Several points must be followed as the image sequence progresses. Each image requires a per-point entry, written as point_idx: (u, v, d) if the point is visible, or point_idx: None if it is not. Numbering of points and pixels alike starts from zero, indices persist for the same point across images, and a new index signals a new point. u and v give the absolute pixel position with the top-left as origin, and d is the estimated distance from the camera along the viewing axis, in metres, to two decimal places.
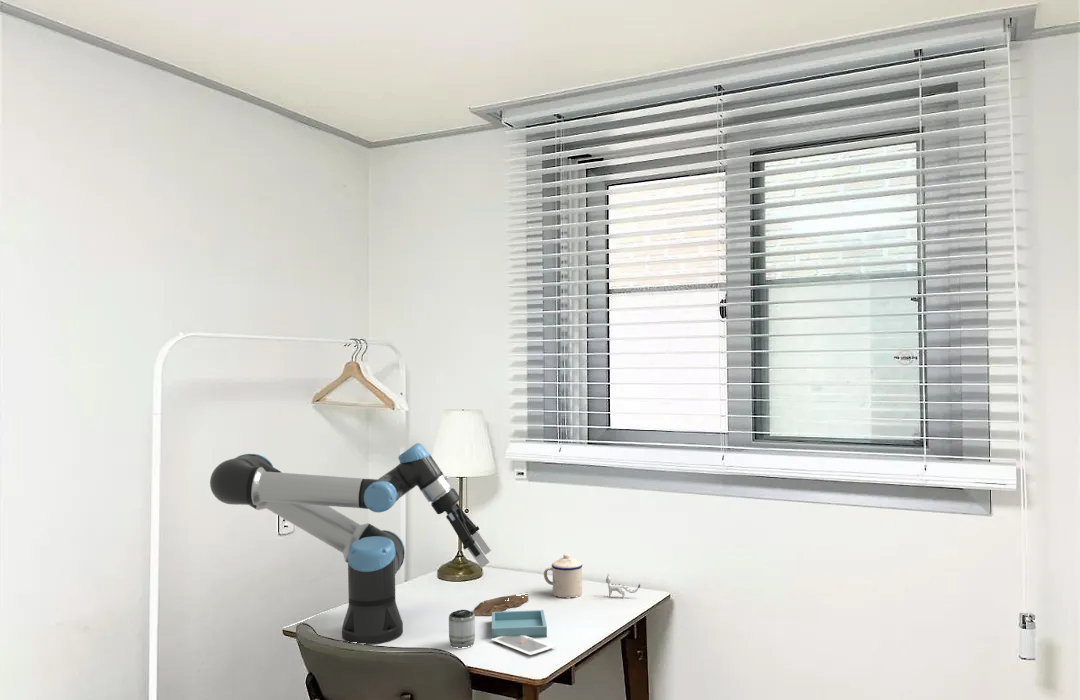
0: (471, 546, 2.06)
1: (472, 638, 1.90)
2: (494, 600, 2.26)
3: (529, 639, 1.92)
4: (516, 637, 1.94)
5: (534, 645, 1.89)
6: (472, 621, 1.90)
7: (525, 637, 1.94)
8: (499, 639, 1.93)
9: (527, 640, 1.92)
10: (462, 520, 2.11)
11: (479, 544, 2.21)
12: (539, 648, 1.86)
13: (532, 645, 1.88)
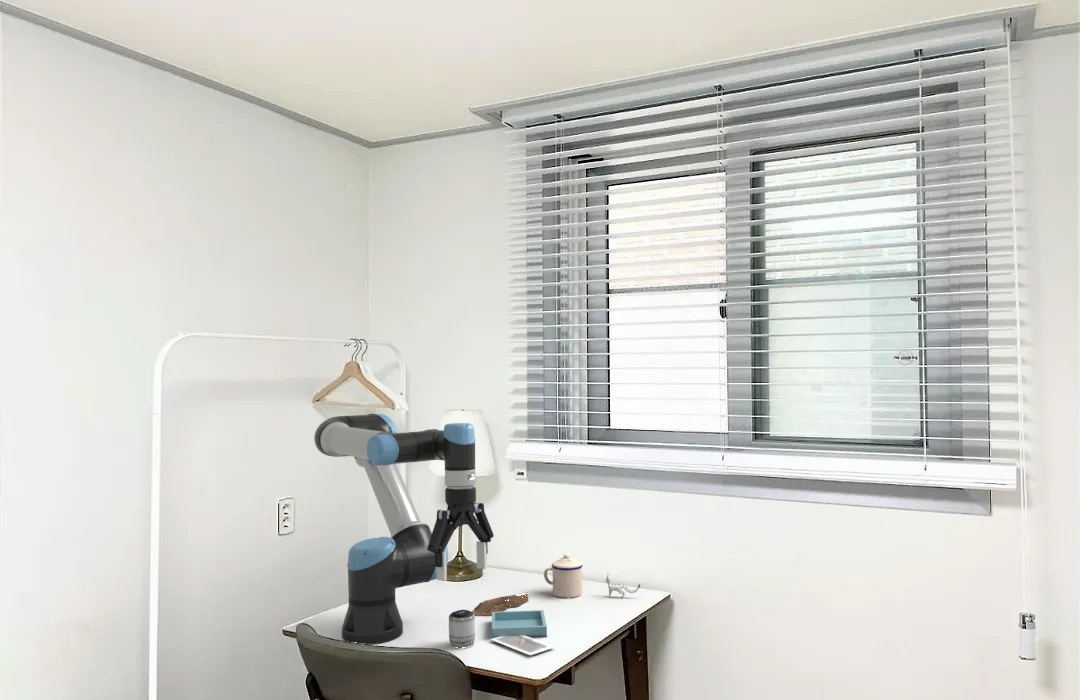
0: (436, 554, 1.86)
1: (472, 638, 1.90)
2: (494, 600, 2.26)
3: (529, 640, 1.92)
4: (516, 637, 1.94)
5: (533, 645, 1.88)
6: (472, 621, 1.90)
7: (525, 637, 1.94)
8: (499, 639, 1.93)
9: (527, 640, 1.92)
10: (453, 524, 1.89)
11: (479, 555, 1.98)
12: (539, 648, 1.86)
13: (531, 646, 1.88)
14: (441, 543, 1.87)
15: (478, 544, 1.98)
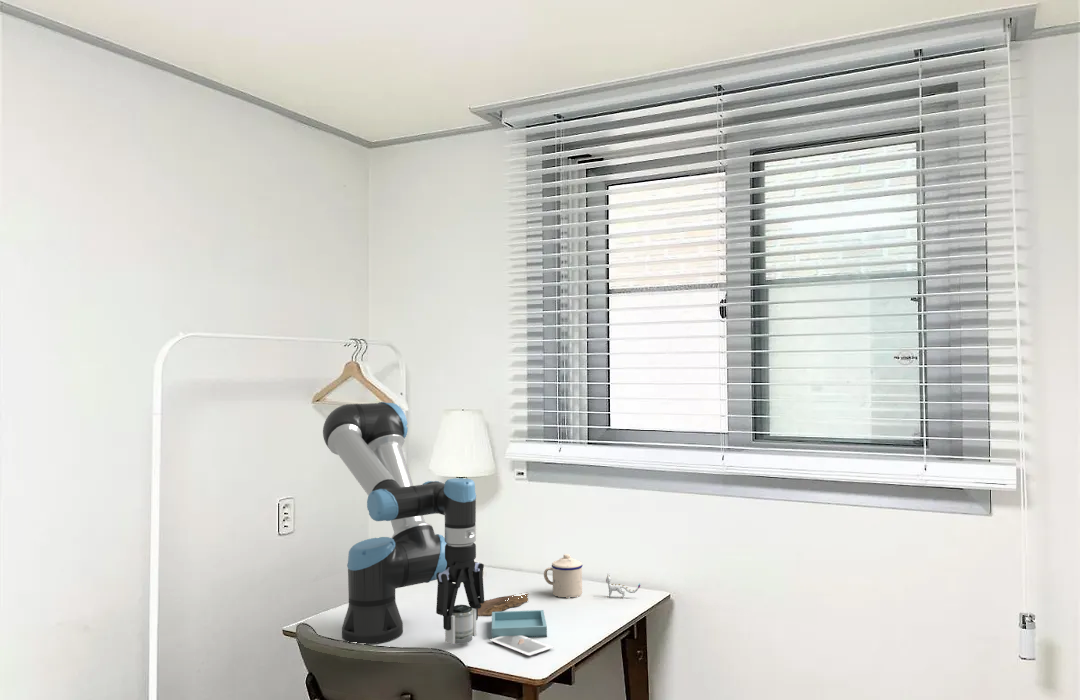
0: (445, 617, 1.88)
1: (470, 633, 1.90)
2: (494, 600, 2.26)
3: (528, 640, 1.92)
4: (514, 637, 1.94)
5: (532, 645, 1.88)
6: (471, 616, 1.91)
7: (523, 637, 1.94)
8: (498, 640, 1.92)
9: (526, 641, 1.91)
10: (455, 585, 1.89)
11: None
12: (538, 648, 1.86)
13: (530, 646, 1.88)
14: (448, 606, 1.88)
15: None
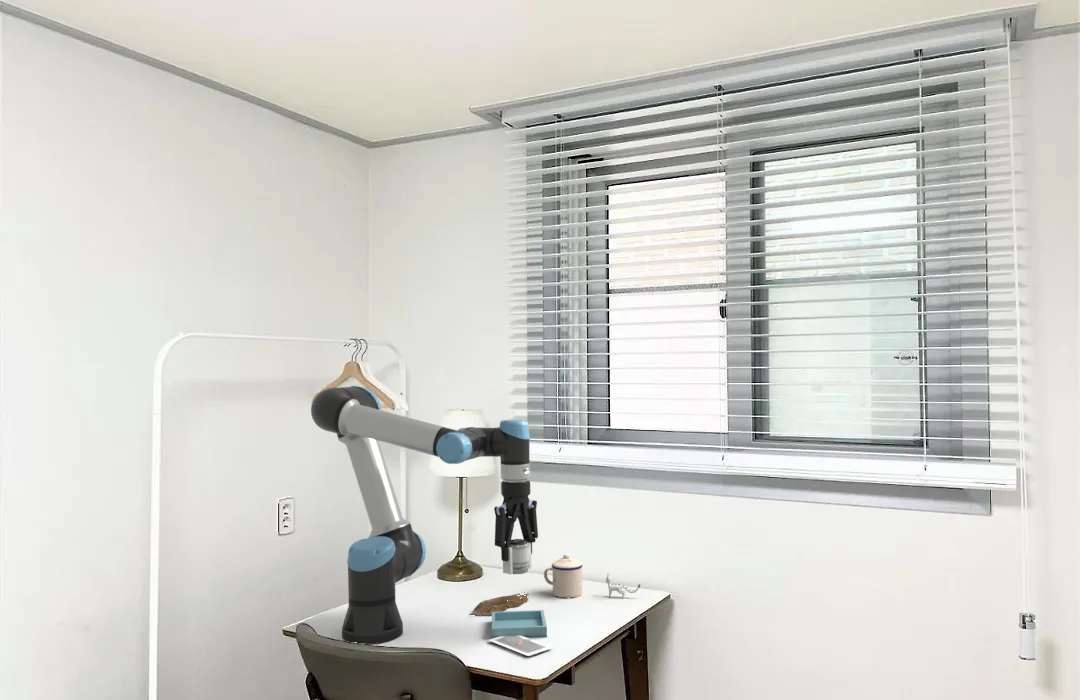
0: (503, 549, 1.99)
1: (527, 565, 2.01)
2: (494, 600, 2.26)
3: (527, 640, 1.92)
4: (514, 638, 1.94)
5: (531, 646, 1.88)
6: (527, 548, 2.01)
7: (523, 638, 1.93)
8: (497, 640, 1.92)
9: (525, 641, 1.91)
10: (512, 518, 2.00)
11: None
12: (537, 649, 1.86)
13: (529, 646, 1.87)
14: (506, 539, 1.99)
15: None
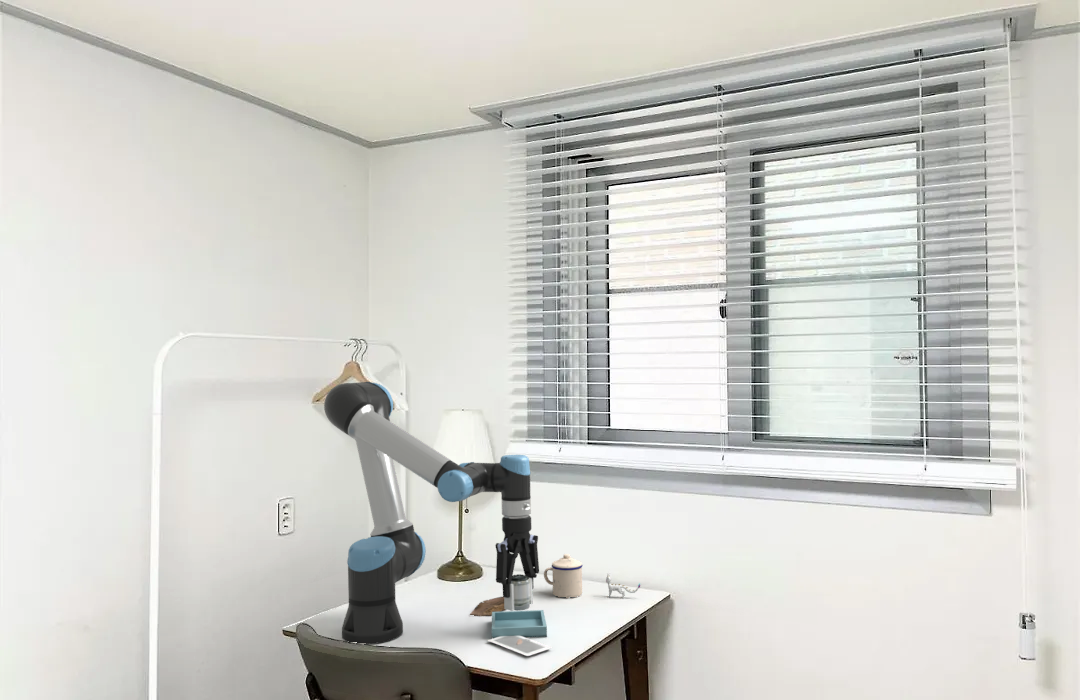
0: (504, 585, 1.99)
1: (528, 601, 2.01)
2: (494, 600, 2.26)
3: (526, 640, 1.92)
4: (513, 638, 1.93)
5: (531, 646, 1.88)
6: (528, 584, 2.01)
7: (522, 638, 1.93)
8: (496, 640, 1.92)
9: (524, 641, 1.91)
10: (513, 555, 2.00)
11: None
12: (536, 649, 1.86)
13: (529, 646, 1.87)
14: (507, 575, 1.99)
15: None
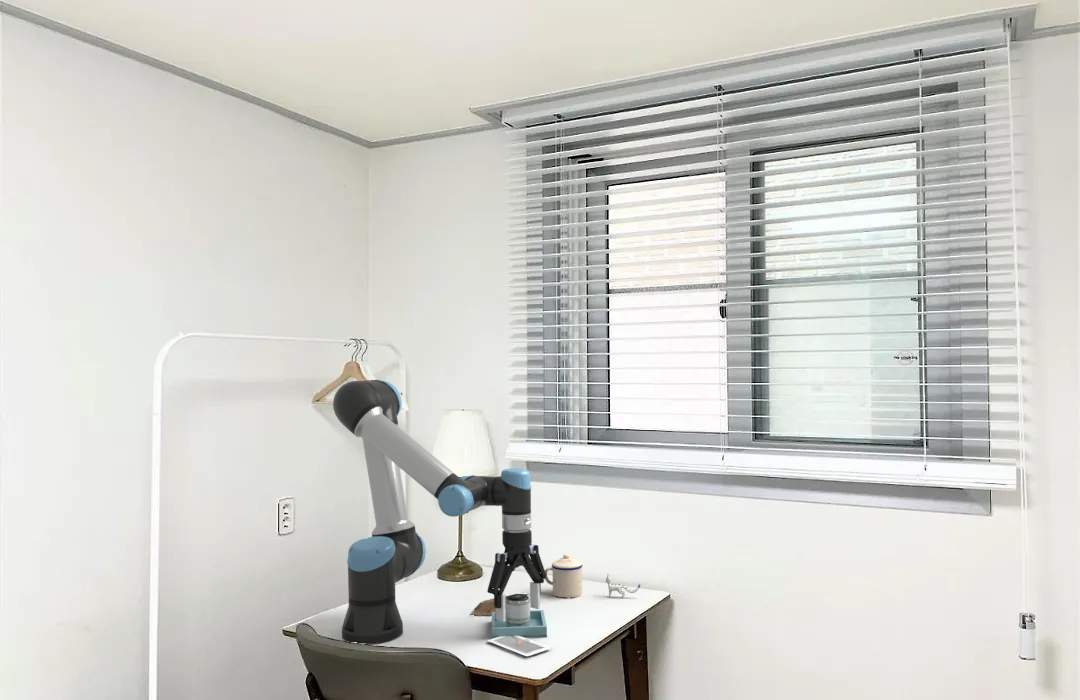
0: (496, 596, 1.97)
1: (528, 620, 2.01)
2: None
3: (526, 641, 1.91)
4: (512, 638, 1.93)
5: (530, 646, 1.88)
6: (528, 604, 2.01)
7: (521, 638, 1.93)
8: (495, 640, 1.92)
9: (524, 641, 1.91)
10: (511, 567, 1.99)
11: (533, 595, 2.07)
12: (535, 649, 1.86)
13: (528, 647, 1.87)
14: (500, 585, 1.97)
15: (532, 585, 2.07)
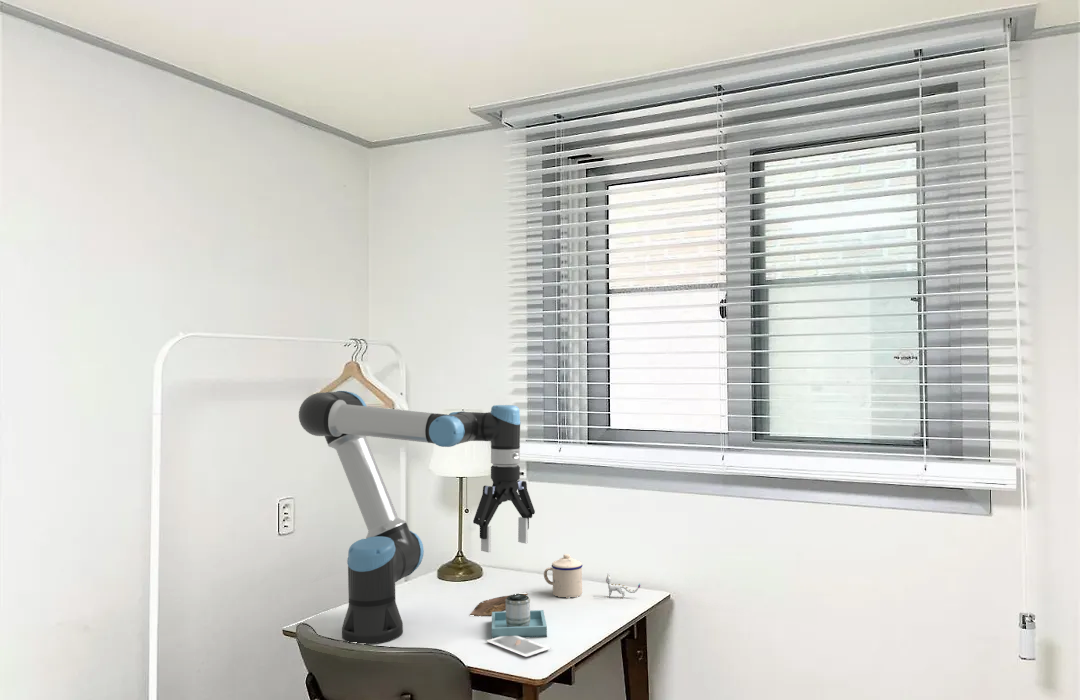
0: (481, 527, 1.99)
1: (528, 620, 2.01)
2: (494, 600, 2.26)
3: (525, 641, 1.91)
4: (511, 638, 1.93)
5: (529, 646, 1.88)
6: (528, 604, 2.01)
7: (520, 638, 1.93)
8: (494, 641, 1.92)
9: (523, 642, 1.91)
10: (498, 500, 2.01)
11: (521, 530, 2.10)
12: (535, 649, 1.85)
13: (527, 647, 1.87)
14: (486, 517, 1.99)
15: (520, 519, 2.10)
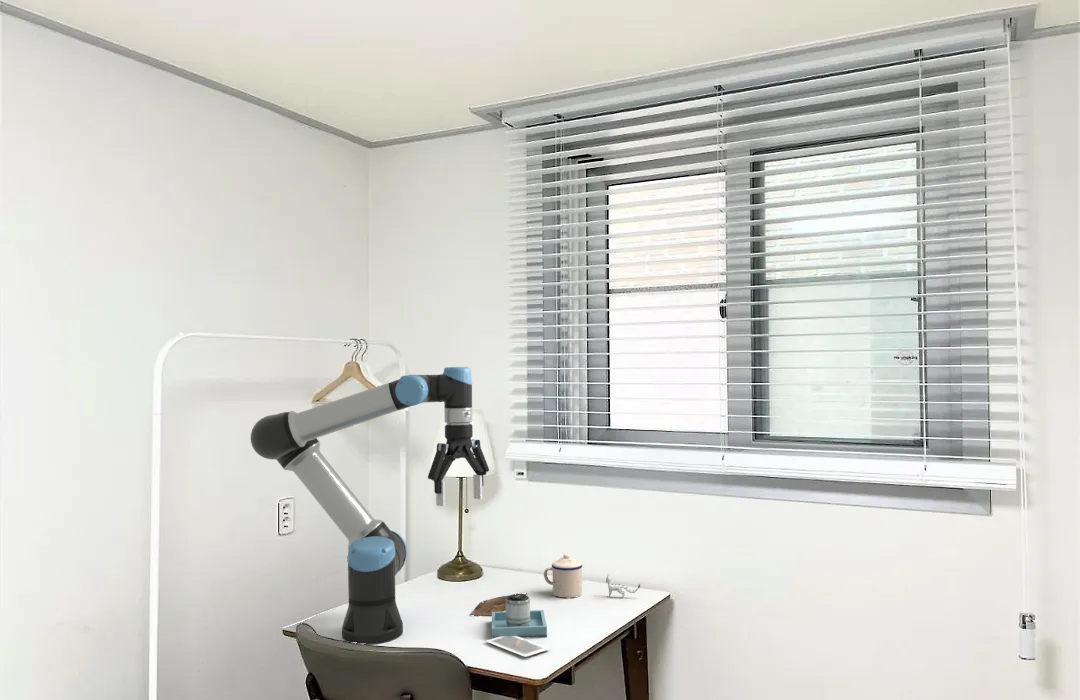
0: (436, 482, 2.08)
1: (528, 620, 2.01)
2: (494, 600, 2.26)
3: (524, 641, 1.91)
4: (511, 639, 1.93)
5: (528, 646, 1.87)
6: (528, 604, 2.01)
7: (520, 639, 1.93)
8: (494, 641, 1.92)
9: (522, 642, 1.91)
10: (451, 456, 2.11)
11: (476, 486, 2.19)
12: (534, 650, 1.85)
13: (527, 647, 1.87)
14: (440, 472, 2.09)
15: (475, 477, 2.19)
